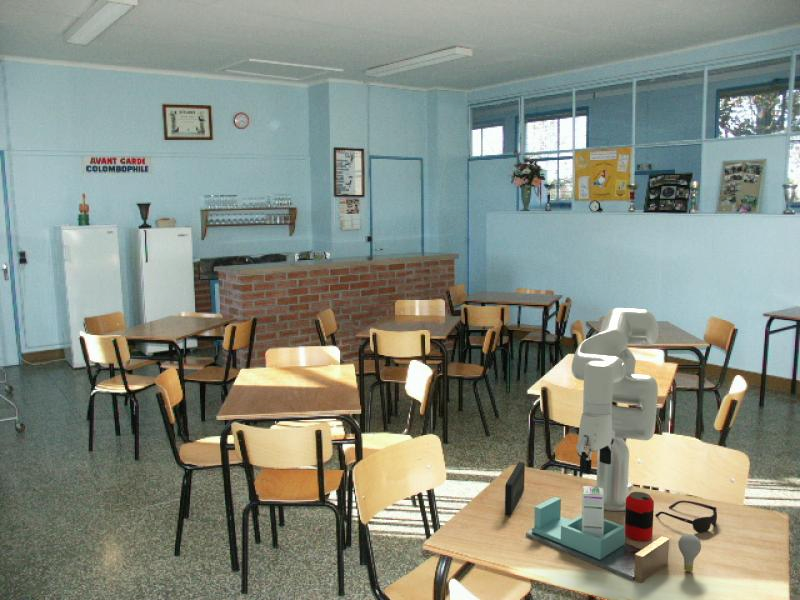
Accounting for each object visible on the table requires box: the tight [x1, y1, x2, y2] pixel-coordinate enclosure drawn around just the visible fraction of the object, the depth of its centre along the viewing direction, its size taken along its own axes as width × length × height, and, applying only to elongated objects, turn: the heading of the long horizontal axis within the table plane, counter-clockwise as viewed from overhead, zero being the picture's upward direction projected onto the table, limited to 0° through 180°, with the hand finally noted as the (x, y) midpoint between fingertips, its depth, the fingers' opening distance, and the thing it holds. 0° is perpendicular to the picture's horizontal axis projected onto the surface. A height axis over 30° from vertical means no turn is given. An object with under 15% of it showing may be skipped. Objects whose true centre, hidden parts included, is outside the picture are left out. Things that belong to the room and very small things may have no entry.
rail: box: [525, 529, 670, 584], centre depth 199 cm, size 15×36×7 cm, turn 43°
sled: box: [531, 496, 626, 560], centre depth 202 cm, size 12×22×7 cm, turn 43°
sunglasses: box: [655, 500, 718, 534], centre depth 216 cm, size 14×16×5 cm
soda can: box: [624, 491, 655, 542], centre depth 206 cm, size 8×8×12 cm
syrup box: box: [581, 485, 605, 538], centre depth 198 cm, size 6×6×14 cm
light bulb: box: [677, 533, 702, 573], centre depth 186 cm, size 6×5×10 cm
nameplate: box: [504, 461, 526, 516], centre depth 229 cm, size 21×2×10 cm, turn 159°
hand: (595, 467), depth 197 cm, fingers open, 9 cm apart
